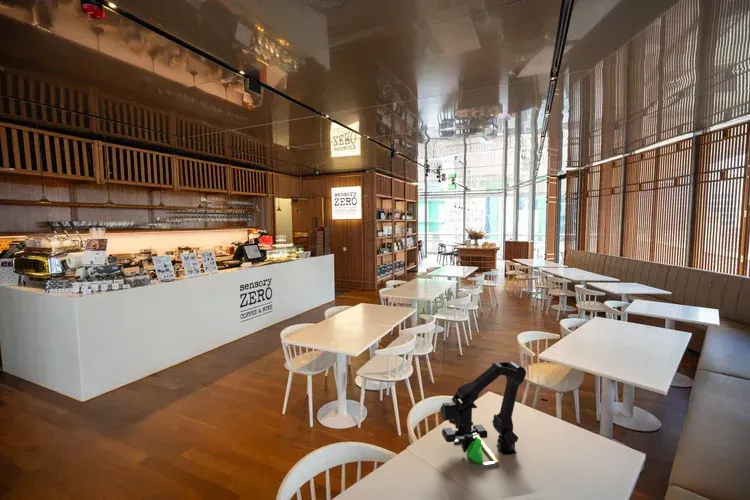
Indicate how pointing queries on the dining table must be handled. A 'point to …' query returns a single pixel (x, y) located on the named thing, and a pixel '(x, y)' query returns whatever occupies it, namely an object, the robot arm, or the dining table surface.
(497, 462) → the u-shaped frame
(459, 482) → the dining table surface
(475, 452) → the mechanical part
